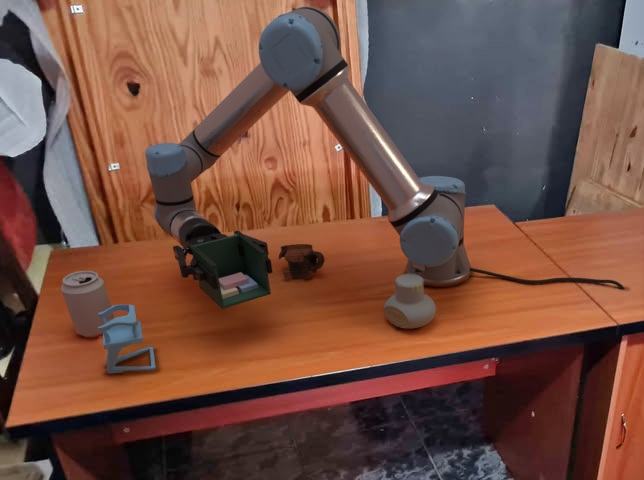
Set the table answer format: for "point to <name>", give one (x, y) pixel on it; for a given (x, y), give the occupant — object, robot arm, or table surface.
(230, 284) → the block
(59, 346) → the table surface
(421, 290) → the air freshener
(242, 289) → the blue packet
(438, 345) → the table surface
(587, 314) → the table surface
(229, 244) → the open box
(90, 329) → the can
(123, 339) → the chair
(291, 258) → the pottery mug
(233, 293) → the block
